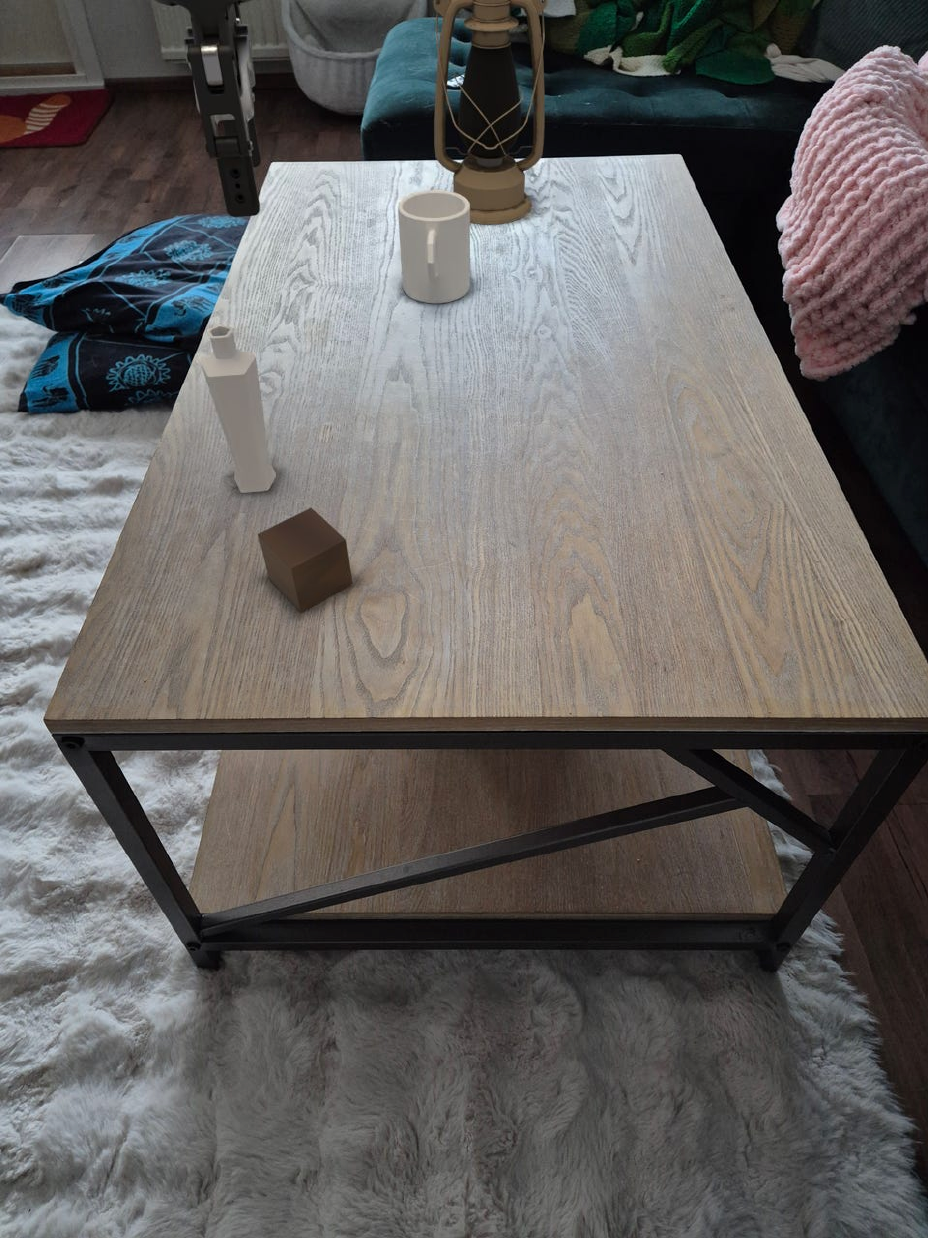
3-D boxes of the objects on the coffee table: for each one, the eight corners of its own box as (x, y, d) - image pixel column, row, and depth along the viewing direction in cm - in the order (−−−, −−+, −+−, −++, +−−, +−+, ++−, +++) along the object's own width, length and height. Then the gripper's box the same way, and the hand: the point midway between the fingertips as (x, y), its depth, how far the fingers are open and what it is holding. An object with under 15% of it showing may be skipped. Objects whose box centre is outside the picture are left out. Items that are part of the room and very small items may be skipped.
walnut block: (300, 613, 68) (291, 568, 64) (268, 578, 70) (257, 533, 66) (352, 584, 70) (346, 539, 66) (319, 551, 72) (311, 506, 69)
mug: (397, 320, 98) (391, 234, 91) (406, 271, 106) (401, 188, 99) (467, 321, 98) (467, 235, 90) (470, 272, 106) (470, 189, 98)
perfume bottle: (287, 487, 78) (257, 337, 67) (240, 500, 77) (202, 351, 66) (272, 459, 81) (241, 311, 70) (227, 472, 80) (188, 323, 68)
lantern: (436, 225, 115) (428, -55, 92) (435, 189, 123) (427, -76, 100) (544, 222, 115) (562, -57, 93) (536, 187, 123) (550, -78, 101)
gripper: (137, -124, 53) (198, 155, 65) (108, -80, 44) (186, 236, 56) (258, -127, 54) (296, 149, 66) (255, -85, 45) (301, 228, 57)
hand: (246, 189), depth 61 cm, fingers open, 8 cm apart
